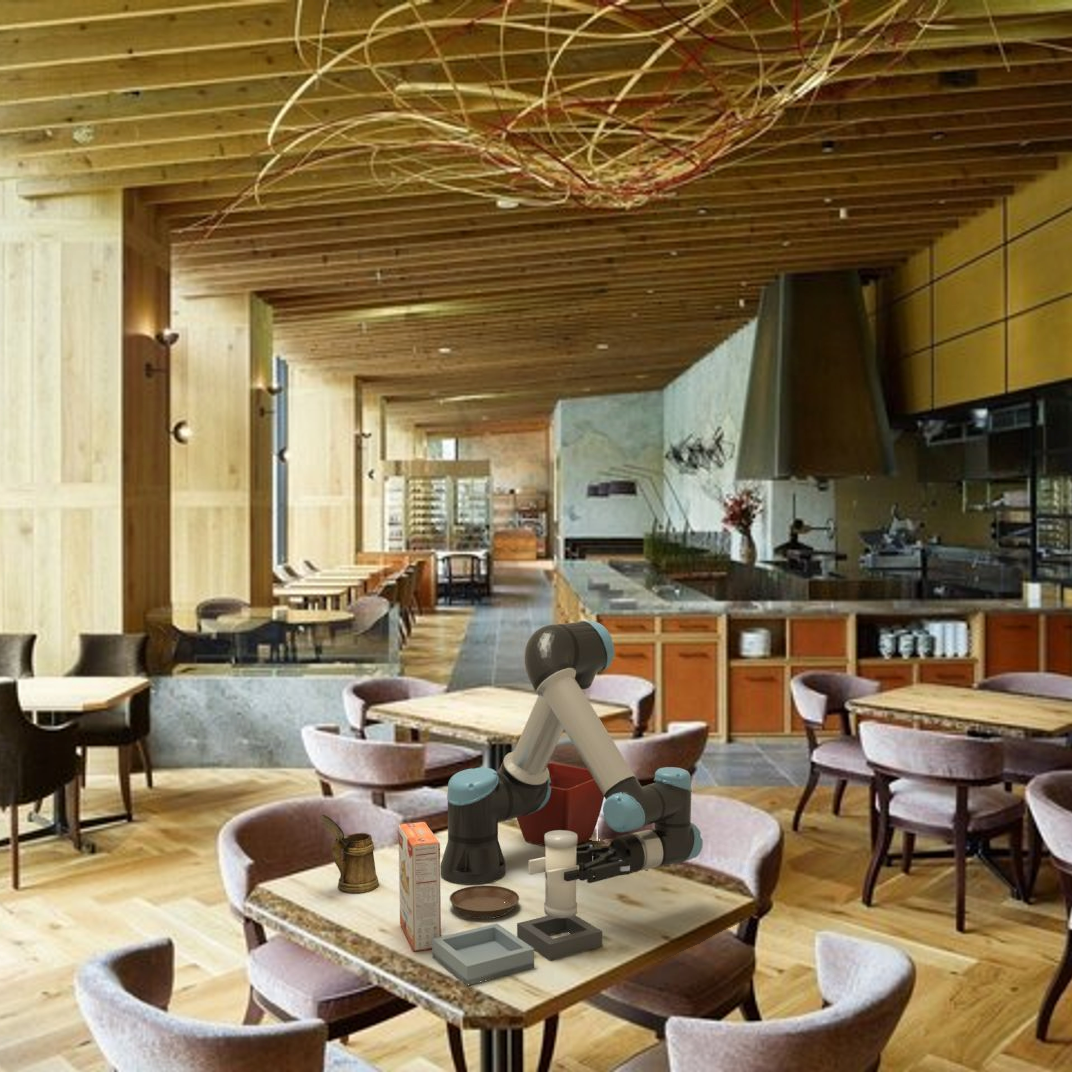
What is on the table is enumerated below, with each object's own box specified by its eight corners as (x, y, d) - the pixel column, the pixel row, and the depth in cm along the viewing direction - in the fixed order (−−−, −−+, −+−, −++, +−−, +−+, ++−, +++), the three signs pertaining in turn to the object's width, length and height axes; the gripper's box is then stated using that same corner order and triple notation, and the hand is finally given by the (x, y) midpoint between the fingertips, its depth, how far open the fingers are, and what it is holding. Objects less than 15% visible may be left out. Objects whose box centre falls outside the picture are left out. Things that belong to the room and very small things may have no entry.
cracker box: (397, 925, 211) (397, 823, 210) (426, 921, 213) (426, 820, 212) (411, 953, 198) (410, 844, 197) (442, 948, 199) (441, 841, 199)
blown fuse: (538, 909, 203) (538, 833, 202) (565, 902, 206) (565, 828, 206) (555, 920, 197) (556, 843, 197) (583, 913, 201) (583, 837, 200)
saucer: (513, 894, 228) (513, 882, 228) (524, 920, 214) (524, 907, 214) (446, 899, 226) (446, 886, 226) (452, 925, 211) (452, 912, 211)
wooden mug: (312, 891, 230) (312, 810, 230) (364, 876, 239) (364, 799, 239) (333, 902, 224) (333, 819, 223) (386, 886, 233) (385, 807, 232)
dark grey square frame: (517, 938, 204) (517, 923, 204) (567, 925, 210) (568, 910, 210) (549, 960, 194) (549, 944, 194) (602, 946, 200) (602, 931, 200)
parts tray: (432, 957, 196) (432, 938, 196) (496, 940, 203) (496, 923, 203) (467, 986, 184) (466, 966, 184) (534, 967, 191) (534, 948, 191)
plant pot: (566, 857, 252) (566, 788, 251) (505, 842, 263) (505, 776, 263) (610, 837, 267) (609, 772, 267) (550, 824, 279) (550, 762, 278)
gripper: (664, 885, 203) (565, 909, 191) (607, 856, 219) (513, 876, 207) (664, 847, 203) (566, 868, 191) (608, 821, 219) (513, 839, 207)
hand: (538, 873), depth 199 cm, fingers closed on blown fuse, 6 cm apart
